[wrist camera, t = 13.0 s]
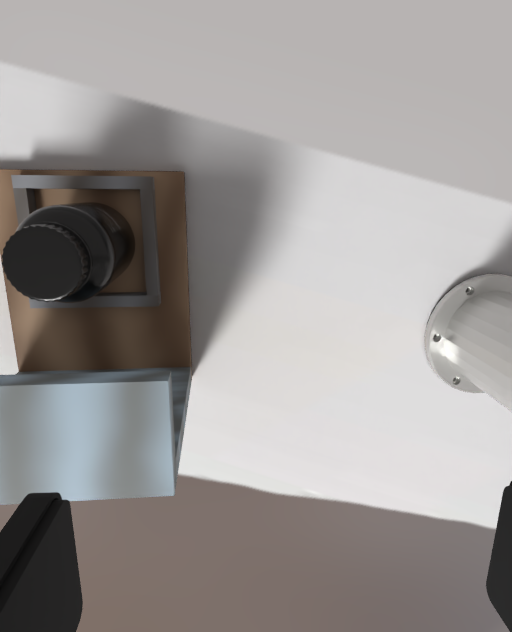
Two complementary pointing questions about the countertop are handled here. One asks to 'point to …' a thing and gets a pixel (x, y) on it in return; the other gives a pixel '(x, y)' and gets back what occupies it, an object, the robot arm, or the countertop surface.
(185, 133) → the countertop surface
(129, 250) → the supplement bottle
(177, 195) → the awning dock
